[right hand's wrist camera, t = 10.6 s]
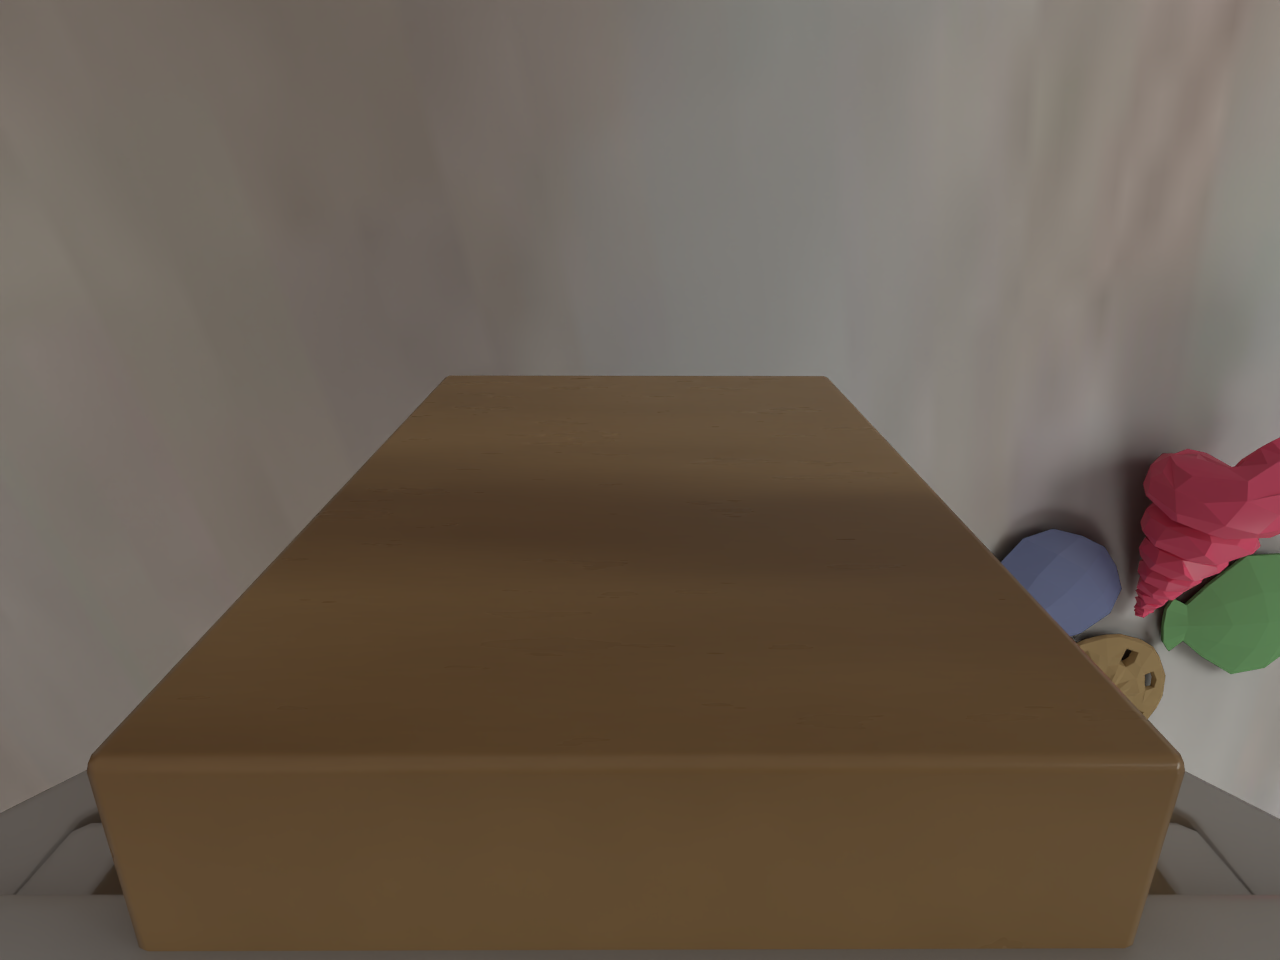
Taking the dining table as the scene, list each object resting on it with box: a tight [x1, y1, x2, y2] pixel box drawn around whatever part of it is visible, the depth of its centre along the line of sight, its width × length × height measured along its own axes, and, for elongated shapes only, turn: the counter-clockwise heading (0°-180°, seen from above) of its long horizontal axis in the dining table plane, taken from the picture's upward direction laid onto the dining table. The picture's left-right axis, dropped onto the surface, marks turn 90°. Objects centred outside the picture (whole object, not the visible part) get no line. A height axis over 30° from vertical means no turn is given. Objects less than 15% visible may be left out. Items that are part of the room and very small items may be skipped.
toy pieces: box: [1001, 438, 1280, 719], centre depth 26 cm, size 12×11×4 cm
